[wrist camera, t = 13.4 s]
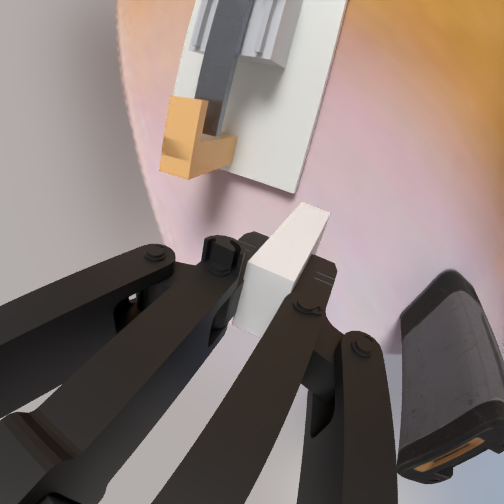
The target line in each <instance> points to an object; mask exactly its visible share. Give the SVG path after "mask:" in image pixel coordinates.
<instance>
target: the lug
mask: <svg viewBox="0 0 504 504" xmlns="http://www.w3.org/2000/svg"><path fill="white" fill-rule="evenodd" d="M208 102H209V101H205V100H200V99H194V98H187V97H181V96H170V102H169V107H168V113H167V119H166V125H165V132H164V139H163V146H162V153H161V161H160V170H159V171H162V172H165V173H168V174H171V175H174V176H177V177H181V178H184V179H187V180H189V179H192V178H194V177H197V176H200V175H202V174H205V173H208V172H210V171H213V170H216V169H219V168H221V167H224V166H227V165H230V164H232V161H233V156H234V152H235V147H236V142H237V138H238V136H234V135H230V134H226V133H222V132H221V135H220V136H218V137H215V136H211V135H207V134H202V132H203V127H204V121H205V116H206V111H207V107H208Z"/></svg>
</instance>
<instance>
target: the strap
mask: <svg viewBox="0 0 504 504" xmlns="http://www.w3.org/2000/svg"><path fill="white" fill-rule="evenodd" d="M253 1H254V0H219V1H218V4H217V8H216V11H215V15H214V18H213V22H212V25H211V29H210V33H209V37H208V41H207V45H206V49H205V53H204V57H203V61H202V65H201V70H200V74H199V78H198V83H197V88H196V92H195V97H194V99H200V100H205V101H209V102H208V107H207V111H206V116H205V121H204V127H203V132H202V134H207V135H211V136H215V137H218V136H220V135H221V130H222V125H223V120H224V116H225V111H226V107H227V102H228V98H229V93H230V89H231V85H232V81H233V76H234V72H235V68H236V64H237V60H238V56H239V52H240V48H241V44H242V41H243V37H244V33H245V29H246V26H247V22H248V18H249V15H250V11H251V8H252V4H253Z"/></svg>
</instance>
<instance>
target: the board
mask: <svg viewBox="0 0 504 504" xmlns="http://www.w3.org/2000/svg"><path fill="white" fill-rule="evenodd" d="M218 1H219V0H196V2H195V6H194V9H193V13H192V16H191V20H190V24H189V28H188V31H187V35H186V39H185V43H184V48H183V52H182V56H181V61H180V65H179V70H178V74H177V79H176V84H175V89H174V95H173V96H181V97H187V98H194V97H195V92H196V88H197V83H198V78H199V74H200V70H201V65H202V61H203V57H204V53H205V49H206V45H207V41H208V37H209V33H210V29H211V25H212V22H213V18H214V15H215V11H216V8H217V4H218ZM347 3H348V0H254V1H253V4H252V8H251V11H250V15H249V18H248V22H247V26H246V29H245V33H244V37H243V41H242V44H241V48H240V52H239V56H238V60H237V64H236V68H235V72H234V76H233V81H232V85H231V89H230V93H229V98H228V102H227V107H226V111H225V116H224V120H223V125H222V130H221V132H222V133H226V134H230V135H234V136H238V138H237V142H236V147H235V152H234V156H233V161H232V164H230V165H227V166H224V167H221V168H219V169H221V170H224V171H227V172H230V173H234V174H237V175H240V176H243V177H246V178H249V179H252V180H255V181H258V182H261V183H264V184H267V185H270V186H273V187H276V188H279V189H282V190H284V191H287V192H290V193H293V194H294V193H295V192H296V191H297V188H298V184H299V181H300V178H301V174H302V171H303V167H304V164H305V160H306V157H307V153H308V150H309V146H310V143H311V139H312V136H313V132H314V129H315V125H316V122H317V118H318V115H319V111H320V107H321V104H322V100H323V96H324V93H325V89H326V85H327V81H328V78H329V74H330V70H331V66H332V63H333V59H334V55H335V51H336V47H337V43H338V39H339V35H340V31H341V27H342V23H343V19H344V15H345V11H346V7H347Z"/></svg>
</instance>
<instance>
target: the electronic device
mask: <svg viewBox="0 0 504 504" xmlns="http://www.w3.org/2000/svg"><path fill="white" fill-rule="evenodd" d="M401 335H402V375H403V376H402V412H401V429H400V440H399V450H398V451H399V452H398V459H397V473H398V474H399V475H401V476H402V477H404V478H407V479H410V480H413V481H416V482H419V483H423V484H434V483H438V482H442V481H445V480H447V479H450V478H451V477H452V475H453V467H455V466H457V465H459V464H461V463H463V462H465V461H467V460H469V459H471V458H473V457H475V456H477V455H478V454H480V453H482V452H484V451H486V450H487V449H490V450H492V451H494V452H496V453H498V454H499V453H501V452H503V451H504V362H503V359H502V356H501V353H500V350H499V347H498V344H497V341H496V339H495V336H494V333H493V331H492V328H491V326H490V324H489V322H488V319H487V317H486V315H485V312H484V310H483V308H482V305H481V303H480V301H479V299H478V296H477V294H476V292H475V290H474V288H473V286H472V285H471V284H470V283H469V282H468V281H467V280H466V279H465V278H464V277H463V276H462V275H461V274H460V273H459V272H457V271H456V270H453V269H448V270H445V271H443V272H442V273H441V274H439V275H438V276H437V277H436V279H435V280H434V281H433V282H432V283H431V284H430V285H429V286H428V287H427V288H426V289H425V290H424V291H423V292H422V293H421V294H420V295H419V296H418V297H417V298H416V299H415V300H414V301H413V302H412V303H411V304H410V305H409V306H408V307H407V308H406V309H405V310H404V312H403V313H402V315H401Z"/></svg>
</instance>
